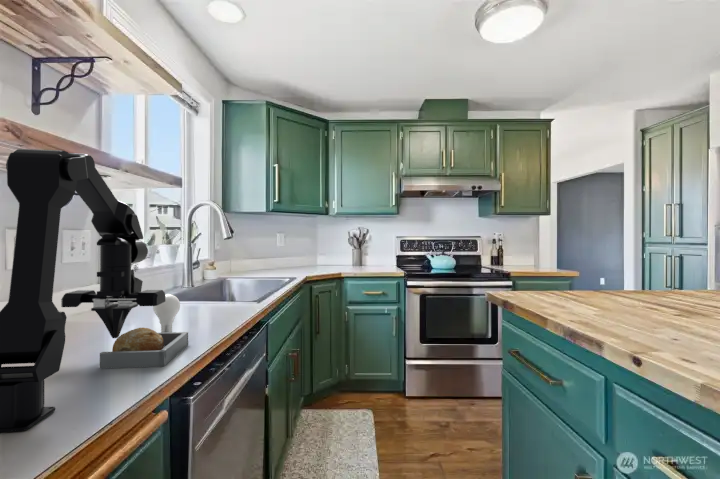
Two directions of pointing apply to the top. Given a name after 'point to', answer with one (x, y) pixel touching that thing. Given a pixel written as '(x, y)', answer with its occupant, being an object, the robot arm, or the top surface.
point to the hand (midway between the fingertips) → (115, 337)
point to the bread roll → (139, 341)
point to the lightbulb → (167, 312)
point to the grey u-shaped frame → (147, 353)
